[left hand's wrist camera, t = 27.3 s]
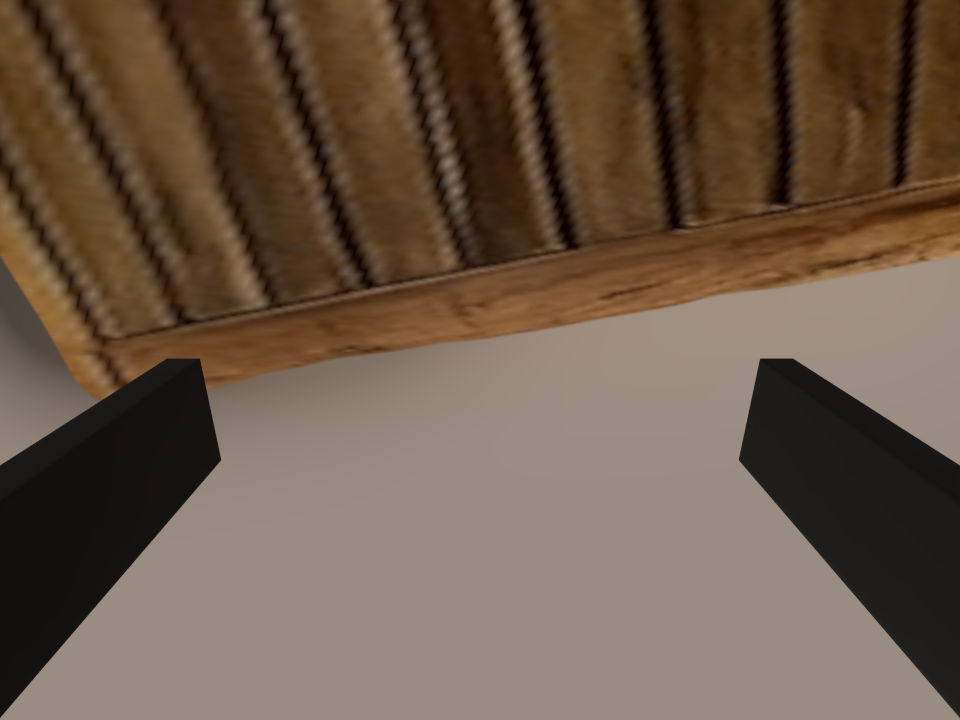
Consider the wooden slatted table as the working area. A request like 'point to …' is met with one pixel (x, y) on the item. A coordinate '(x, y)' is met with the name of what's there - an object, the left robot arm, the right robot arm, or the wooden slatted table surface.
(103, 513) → the left robot arm
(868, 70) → the wooden slatted table surface
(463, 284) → the wooden slatted table surface
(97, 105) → the wooden slatted table surface
